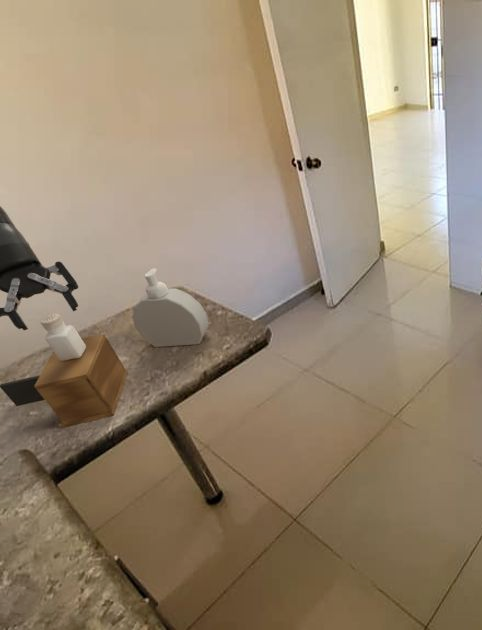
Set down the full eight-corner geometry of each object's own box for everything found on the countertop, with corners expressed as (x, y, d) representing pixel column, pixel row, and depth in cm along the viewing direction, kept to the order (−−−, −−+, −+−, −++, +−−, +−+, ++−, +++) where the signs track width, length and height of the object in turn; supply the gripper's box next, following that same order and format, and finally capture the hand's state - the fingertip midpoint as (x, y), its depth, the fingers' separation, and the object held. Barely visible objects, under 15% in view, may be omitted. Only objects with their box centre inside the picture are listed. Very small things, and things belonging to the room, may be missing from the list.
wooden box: (61, 428, 91) (27, 387, 84) (80, 383, 101) (52, 344, 94) (114, 415, 93) (86, 374, 86) (127, 372, 104) (103, 333, 97)
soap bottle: (215, 331, 115) (188, 266, 104) (208, 344, 111) (179, 277, 99) (155, 335, 115) (121, 270, 104) (145, 348, 111) (109, 281, 99)
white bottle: (81, 358, 90) (56, 321, 84) (60, 362, 89) (33, 326, 84) (88, 346, 93) (64, 310, 88) (67, 350, 92) (42, 314, 87)
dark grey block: (10, 431, 89) (-19, 399, 83) (23, 407, 94) (-4, 376, 89) (63, 418, 91) (38, 386, 86) (73, 395, 96) (50, 364, 91)
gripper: (-47, 257, 81) (1, 330, 81) (43, 231, 89) (87, 297, 89) (-31, 272, 87) (13, 340, 87) (52, 246, 95) (92, 309, 95)
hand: (50, 318), depth 88 cm, fingers open, 8 cm apart
